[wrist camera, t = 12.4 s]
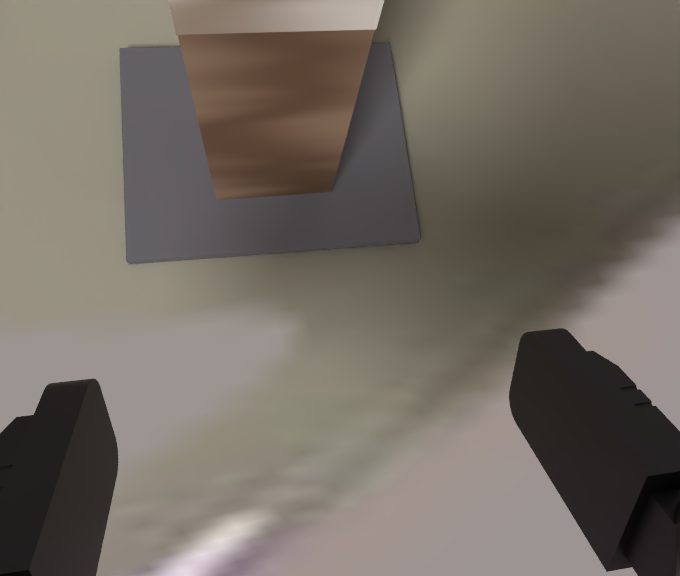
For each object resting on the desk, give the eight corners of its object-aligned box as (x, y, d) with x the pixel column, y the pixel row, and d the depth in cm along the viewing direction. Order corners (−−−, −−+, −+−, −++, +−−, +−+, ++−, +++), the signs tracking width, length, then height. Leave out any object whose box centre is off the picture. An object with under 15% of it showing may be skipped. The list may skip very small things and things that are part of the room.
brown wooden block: (216, 200, 19) (161, -30, 9) (207, 96, 20) (148, -213, 10) (332, 192, 20) (392, -32, 10) (318, 91, 20) (362, -205, 11)
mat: (129, 264, 18) (126, 260, 18) (122, 55, 20) (119, 48, 20) (417, 242, 20) (420, 238, 20) (387, 49, 22) (389, 42, 21)
